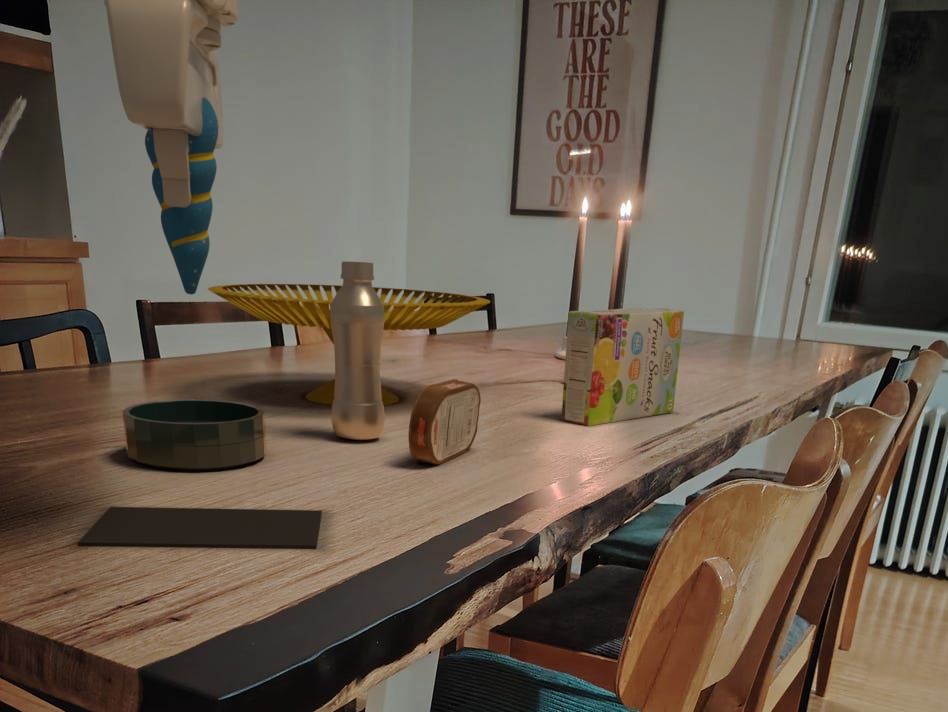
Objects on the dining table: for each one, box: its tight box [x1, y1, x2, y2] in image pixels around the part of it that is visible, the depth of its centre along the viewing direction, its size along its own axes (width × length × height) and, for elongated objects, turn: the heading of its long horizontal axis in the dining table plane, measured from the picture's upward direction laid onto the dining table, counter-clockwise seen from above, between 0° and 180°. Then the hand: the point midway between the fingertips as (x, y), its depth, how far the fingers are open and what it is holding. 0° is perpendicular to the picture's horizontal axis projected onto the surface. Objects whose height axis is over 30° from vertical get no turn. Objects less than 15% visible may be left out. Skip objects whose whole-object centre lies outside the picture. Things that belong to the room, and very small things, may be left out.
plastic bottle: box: [329, 260, 386, 442], centre depth 108 cm, size 6×7×20 cm
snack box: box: [560, 307, 685, 427], centre depth 133 cm, size 21×6×15 cm, turn 136°
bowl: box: [121, 399, 267, 472], centre depth 98 cm, size 14×14×5 cm
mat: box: [77, 506, 323, 550], centre depth 76 cm, size 18×10×1 cm, turn 97°
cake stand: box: [207, 283, 491, 406], centre depth 137 cm, size 40×40×15 cm
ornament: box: [144, 97, 219, 295], centre depth 68 cm, size 5×5×15 cm
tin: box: [408, 378, 481, 466], centre depth 104 cm, size 15×3×8 cm, turn 159°
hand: (186, 208), depth 69 cm, fingers closed on ornament, 4 cm apart
